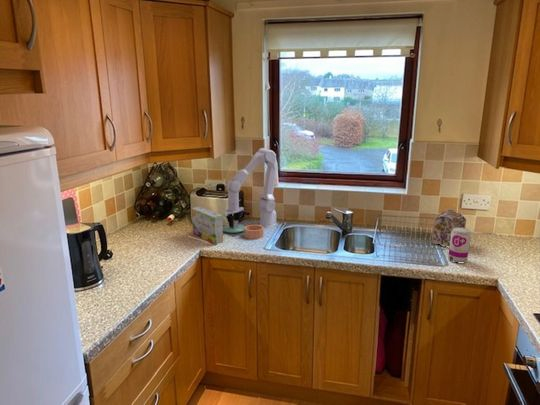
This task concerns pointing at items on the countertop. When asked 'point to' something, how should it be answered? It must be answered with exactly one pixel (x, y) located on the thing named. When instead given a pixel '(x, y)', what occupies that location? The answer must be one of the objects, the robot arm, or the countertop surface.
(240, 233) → the mat
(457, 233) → the supplement can
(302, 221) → the countertop surface
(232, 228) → the lid
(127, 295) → the countertop surface
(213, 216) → the snack box
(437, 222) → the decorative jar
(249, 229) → the bucket
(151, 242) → the countertop surface
